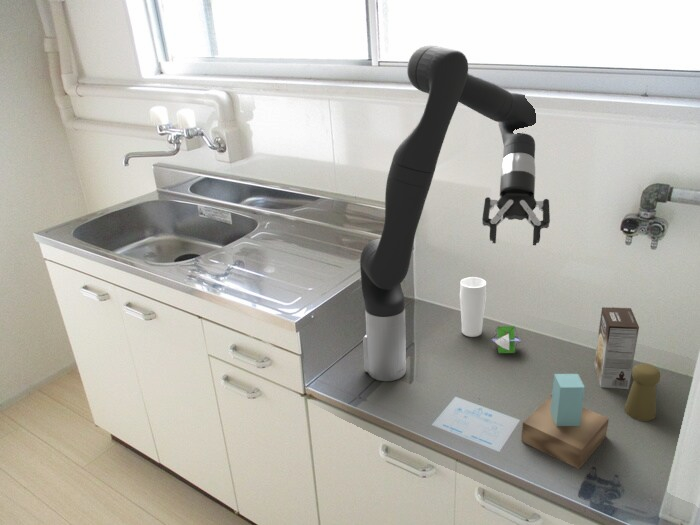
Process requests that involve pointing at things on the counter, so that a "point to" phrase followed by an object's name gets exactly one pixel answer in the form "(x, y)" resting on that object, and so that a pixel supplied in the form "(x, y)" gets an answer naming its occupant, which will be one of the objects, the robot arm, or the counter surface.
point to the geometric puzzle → (506, 339)
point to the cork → (643, 393)
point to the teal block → (567, 399)
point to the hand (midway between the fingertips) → (514, 243)
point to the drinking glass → (472, 305)
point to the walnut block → (564, 434)
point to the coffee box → (616, 347)
